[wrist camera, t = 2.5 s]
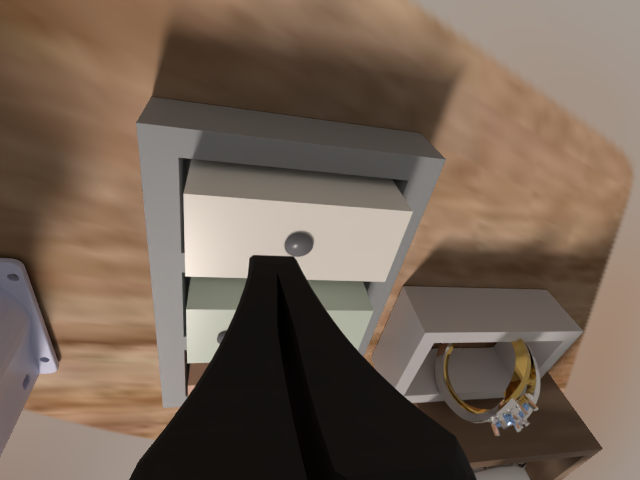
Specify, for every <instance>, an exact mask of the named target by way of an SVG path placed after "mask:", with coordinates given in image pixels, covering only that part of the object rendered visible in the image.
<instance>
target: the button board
mask: <svg viewBox="0 0 640 480" xmlns="http://www.w3.org/2000/svg"><path fill="white" fill-rule="evenodd" d="M136 125H137V136H138V146H139V157H140V168H141V178H142V189H143V199H144V210H145V220H146V231H147V241H148V252H149V263H150V273H151V284H152V294H153V305H154V315H155V326H156V336H157V347H158V358H159V368H160V379H161V389H162V400H163V408H168V407H181V406H182V404H183V403H184V401H185V400H186V399H187V397H188V380H189V371H190V363H187V329H186V306H187V300H188V293H189V286H190V280H191V277H185V241H184V198H183V193H184V189H185V185H186V180H187V176H188V171H189V167H190V163H191V159H198V160H208V161H218V162H228V163H238V164H248V165H258V166H268V167H278V168H288V169H298V170H308V171H318V172H328V173H338V174H348V175H358V176H368V177H378V178H388V179H392V180H393V181H394V183H395V185H396V186H397V188H398V189H399V191H400V192H401V194H402V195H403V197H404V198H405V200H406V201H407V203H408V205H409V206H410V208H411V209H412V211H413V213H412V216H411V218H410V221H409V223H408V226H407V228H406V231H405V233H404V236H403V238H402V241H401V243H400V246H399V248H398V251H397V253H396V256H395V258H394V261H393V263H392V266H391V268H390V271H389V273H388V276H387V278H386V281H385V282H368V281H363V283H364V286H365V288H366V291H367V294H368V297H369V299H370V302H371V305H372V308H373V310H374V311H373V314H372V316H371V319H370V321H369V324H368V326H367V329H366V331H365V334H364V336H363V339H362V341H361V344H360V346H359V349H358V351H359V353H360V354H361V355H362V356H364V354H365V352H366V349H367V347H368V344H369V342H370V340H371V337H372V335H373V333H374V330H375V328H376V325H377V323H378V321H379V318H380V316H381V313H382V311H383V309H384V306H385V304H386V301H387V299H388V297H389V294H390V292H391V290H392V287H393V285H394V282H395V280H396V278H397V275H398V273H399V270H400V268H401V266H402V263H403V261H404V258H405V256H406V254H407V251H408V249H409V247H410V244H411V242H412V239H413V237H414V235H415V232H416V230H417V227H418V225H419V223H420V220H421V218H422V215H423V213H424V211H425V208H426V206H427V204H428V201H429V199H430V196H431V194H432V192H433V189H434V187H435V184H436V182H437V180H438V177H439V175H440V172H441V170H442V168H443V165H444V163H445V161H446V159H445V158H444V157H443V156H442V155H441V154H440V153H439V152H438V151H437V150H436V149H435V148H434V147H433V145H432V144H431V143H430V142H429V141H428V140H427V139H426V138H425V137H424V136H423V135H422V134H421V133H415V132H408V131H401V130H393V129H386V128H379V127H371V126H364V125H356V124H349V123H342V122H334V121H327V120H319V119H312V118H305V117H297V116H290V115H282V114H275V113H268V112H260V111H253V110H245V109H238V108H231V107H223V106H216V105H209V104H201V103H194V102H186V101H179V100H172V99H164V98H157V97H151V98H150V100H149V102H148V104H147V105H146V107H145V109H144V110H143V112H142V114H141V116H140V117H139V119H138V121H137V122H136Z"/></svg>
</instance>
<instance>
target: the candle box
mask: <svg viewBox="0 0 640 480" xmlns="http://www.w3.org/2000/svg"><path fill="white" fill-rule="evenodd" d="M519 398H521V397H518V398H517V399H516V400H518V399H519ZM503 399H505V398H488V399H471V400H463V401H464V402H465V403H466V404H468V405H470V406H472V407H475V408H479V409H486V410H491V409H493V408H495V407H496V406H497V405H498V404H499V403H500V402H501V401H502V400H503ZM413 404H414V405H415V406H416V407H417V408H419V409H420V410H421V411H422V412H424V413H425V414H426V415H428V416H429V417H430V418H432V419H433V420H434V421H436V422H437V423H438V424H440V425H441V426H443V427H444V428H445V429H447V430H448V431H449V432H451V433H452V434H453V435H455V436H456V438H457V440H458V442H459V444H460V445H461V447H462V449H463V451H464V452H465V454H466V456H467V458H468V461H469V463H470V465H471V467H472V468H479V467H488V466H497V465H506V464H515V463H524V462H526V466H525V468H524V469H525V471H526V473H527V475H528V476H529V478H530V480H562V479H563V478H565V477H566V476H567V475H569V474H570V473H571V472H572V471H574V470H575V469H576V468H578V467H579V466H580V465H582V464H583V463H584V462H586V461H587V460H588V459H590V458H591V457H592V456H593V455H595V454H596V453H597V452H599V451H600V450H602V447H601V446H600V444H599V443H598V441H597V440H596V439H595V437H594V436H593V434H592V433H591V432H590V430H589V429H588V428H587V426H586V425H585V423H584V422H583V421H582V419H581V418H580V416H579V415H578V414H577V412H576V411H575V410H574V408H573V407H572V405H571V404H570V403H569V401H568V400H567V398H566V397H565V396H564V394H563V393H562V391H561V390H560V389H559V387H558V386H557V384H556V383H555V382H554V380H553V379H552V378H551V376H550V375H549V373H548V372H546V373H545V374H544V376H543V377H542V378H541V379H540V393H539V397H538V400H537V403H536V406H537V407H538V410H537V411H532V413H531V414H530V416H529V417H528V418H527V421H528V422H529V423H530V424H529V425H528V426H525V425H524V424H523V425H522V426H523V428H522V429H521V431H519V432H516V430H515V428H514V426H513V425H512V426H508V427H507V428H506V429H503V427H498V430H499V433H500V436H495V434H494V431H493V429H492V426H491V423H481V424H479V423H473V422H470V421H467V420H465V419H463V418H461V417H460V416H458V415H457V414H456V413H455V412H454V411H453V410H452V409H451V408H450V407H449V406H448V405H447V403H446V402H445V401H437V402H420V403H413Z"/></svg>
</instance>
